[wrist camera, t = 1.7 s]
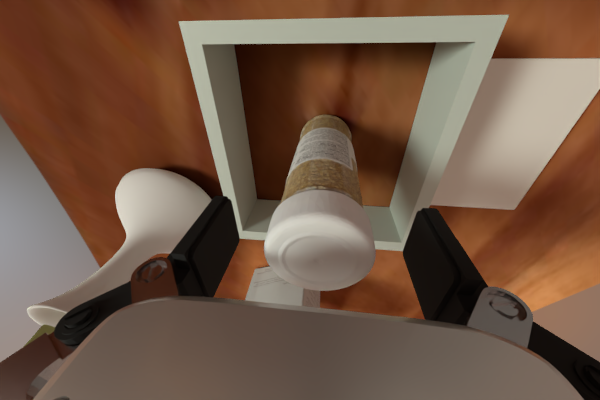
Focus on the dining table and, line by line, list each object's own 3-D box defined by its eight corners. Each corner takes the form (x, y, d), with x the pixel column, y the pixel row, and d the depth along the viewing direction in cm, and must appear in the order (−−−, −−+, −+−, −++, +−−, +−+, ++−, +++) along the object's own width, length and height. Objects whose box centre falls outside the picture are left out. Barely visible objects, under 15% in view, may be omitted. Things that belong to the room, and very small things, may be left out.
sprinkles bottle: (340, 168, 21) (350, 304, 10) (294, 154, 21) (254, 280, 10) (360, 121, 18) (401, 239, 8) (307, 105, 18) (272, 204, 7)
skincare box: (272, 290, 35) (241, 423, 23) (253, 265, 32) (206, 404, 20) (323, 283, 32) (319, 428, 20) (309, 255, 29) (293, 408, 17)
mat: (478, 58, 15) (483, 59, 15) (611, 57, 14) (620, 58, 14) (422, 201, 22) (425, 204, 22) (510, 206, 21) (514, 209, 21)
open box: (217, 25, 16) (178, 21, 12) (458, 21, 14) (508, 14, 10) (249, 205, 25) (234, 237, 21) (397, 215, 24) (410, 251, 20)
